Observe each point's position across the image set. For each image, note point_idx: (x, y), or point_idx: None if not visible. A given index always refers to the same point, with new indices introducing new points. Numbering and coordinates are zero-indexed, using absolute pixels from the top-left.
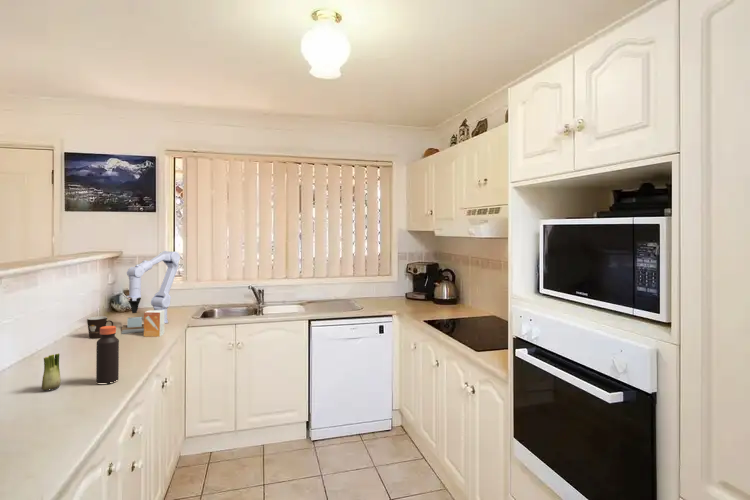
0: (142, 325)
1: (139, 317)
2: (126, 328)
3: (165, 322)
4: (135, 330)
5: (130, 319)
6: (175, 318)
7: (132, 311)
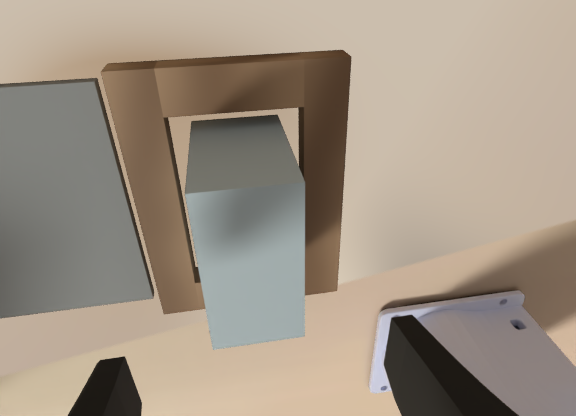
0: None
1: (265, 320)
2: (118, 131)
3: (371, 382)
4: (39, 232)
5: (191, 227)
6: None
7: (83, 397)
